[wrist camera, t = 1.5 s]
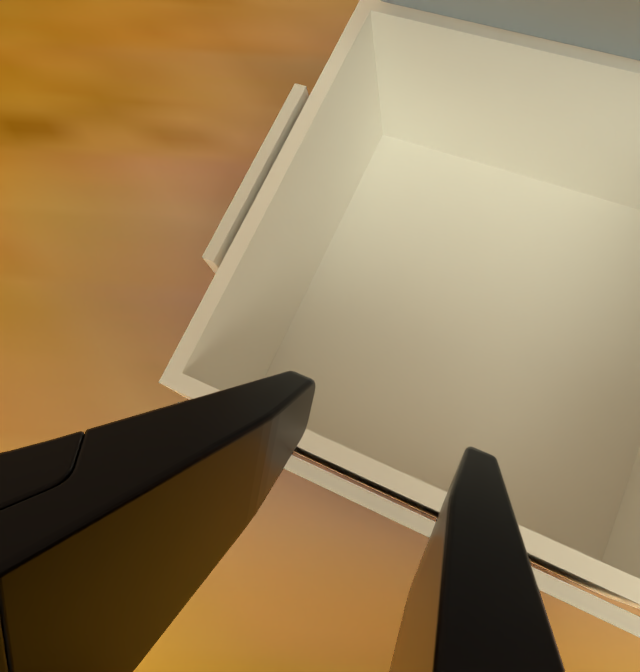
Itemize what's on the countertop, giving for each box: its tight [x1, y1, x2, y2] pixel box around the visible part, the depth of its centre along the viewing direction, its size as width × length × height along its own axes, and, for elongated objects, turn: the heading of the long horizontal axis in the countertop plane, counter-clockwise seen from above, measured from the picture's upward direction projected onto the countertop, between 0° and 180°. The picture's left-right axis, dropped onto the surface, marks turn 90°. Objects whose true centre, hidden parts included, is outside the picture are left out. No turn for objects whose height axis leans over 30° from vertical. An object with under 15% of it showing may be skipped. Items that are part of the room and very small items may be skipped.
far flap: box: [381, 0, 640, 61], centre depth 14 cm, size 7×12×1 cm
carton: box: [159, 0, 640, 638], centre depth 20 cm, size 15×15×7 cm
